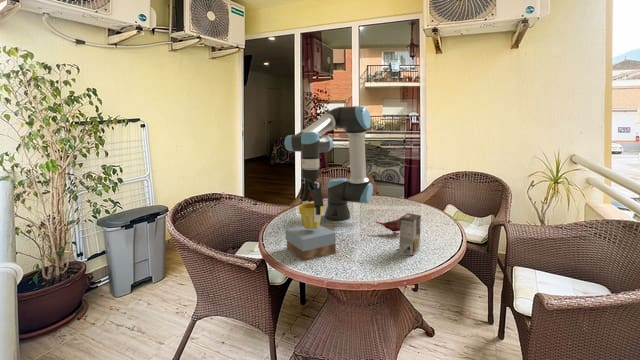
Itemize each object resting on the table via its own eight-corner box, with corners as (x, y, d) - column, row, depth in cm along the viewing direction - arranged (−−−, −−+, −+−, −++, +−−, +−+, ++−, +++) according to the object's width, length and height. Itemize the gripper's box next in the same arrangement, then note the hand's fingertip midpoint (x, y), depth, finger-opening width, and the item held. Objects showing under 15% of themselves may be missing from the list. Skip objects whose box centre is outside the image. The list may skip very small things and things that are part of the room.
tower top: (316, 233, 164) (316, 223, 163) (335, 243, 150) (335, 232, 149) (285, 240, 155) (285, 229, 154) (303, 251, 142) (303, 239, 141)
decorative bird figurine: (410, 235, 172) (411, 216, 171) (374, 234, 175) (374, 215, 174) (409, 233, 175) (410, 214, 173) (374, 232, 178) (374, 213, 176)
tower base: (317, 243, 165) (317, 233, 164) (335, 254, 151) (335, 243, 150) (287, 249, 157) (286, 239, 156) (302, 262, 143) (302, 250, 142)
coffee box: (406, 247, 157) (407, 212, 155) (420, 249, 154) (421, 214, 151) (398, 253, 150) (399, 217, 147) (412, 256, 146) (414, 220, 144)
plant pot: (299, 223, 156) (298, 202, 154) (322, 223, 157) (321, 202, 155) (299, 231, 146) (299, 208, 144) (324, 230, 147) (324, 208, 145)
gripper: (291, 166, 155) (292, 213, 159) (315, 172, 135) (316, 226, 139) (306, 164, 159) (307, 211, 163) (331, 171, 139) (332, 223, 143)
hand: (311, 218), depth 151 cm, fingers closed on plant pot, 10 cm apart
